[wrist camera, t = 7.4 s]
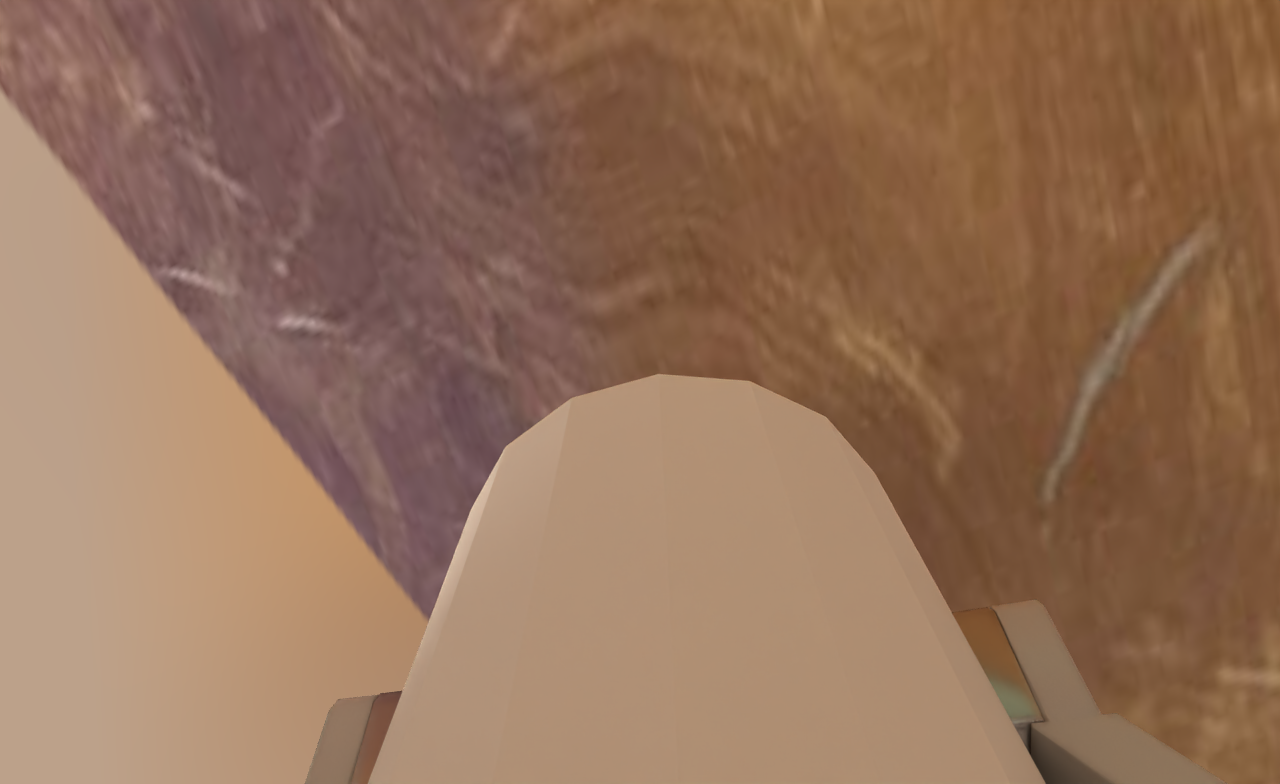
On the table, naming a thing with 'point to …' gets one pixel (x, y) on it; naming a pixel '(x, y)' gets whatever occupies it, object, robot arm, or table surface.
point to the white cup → (692, 613)
